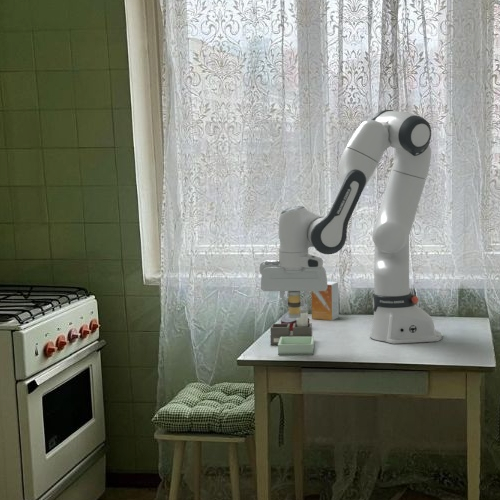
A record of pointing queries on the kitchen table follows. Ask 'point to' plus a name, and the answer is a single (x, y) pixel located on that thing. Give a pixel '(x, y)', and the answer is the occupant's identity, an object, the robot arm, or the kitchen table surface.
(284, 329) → the fuse block
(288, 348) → the parts tray
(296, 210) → the robot arm
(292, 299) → the fuse
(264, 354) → the kitchen table surface
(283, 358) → the kitchen table surface
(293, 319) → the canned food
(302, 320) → the cylinder
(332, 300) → the small box
